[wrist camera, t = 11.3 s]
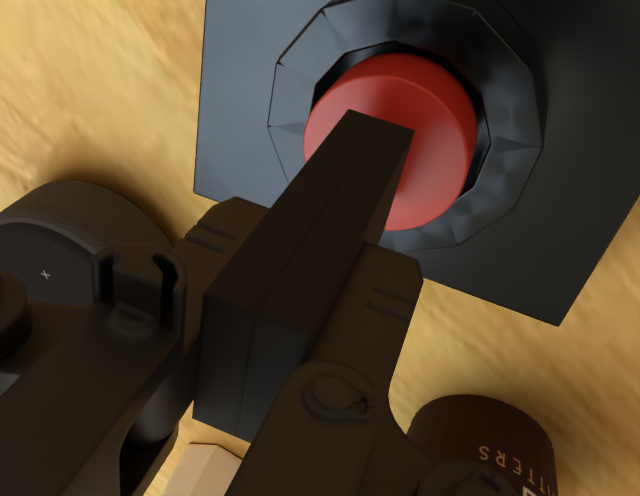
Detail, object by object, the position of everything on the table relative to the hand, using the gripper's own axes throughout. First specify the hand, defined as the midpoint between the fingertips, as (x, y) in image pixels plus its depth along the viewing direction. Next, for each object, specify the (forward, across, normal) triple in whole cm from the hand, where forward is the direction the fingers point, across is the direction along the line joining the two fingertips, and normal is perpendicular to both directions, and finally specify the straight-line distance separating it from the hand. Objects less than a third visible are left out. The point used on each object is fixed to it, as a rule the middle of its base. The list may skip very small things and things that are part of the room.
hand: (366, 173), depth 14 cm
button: (+3, 0, 0) cm, 3 cm away
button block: (+7, 0, 0) cm, 7 cm away
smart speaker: (+8, -12, -13) cm, 19 cm away
